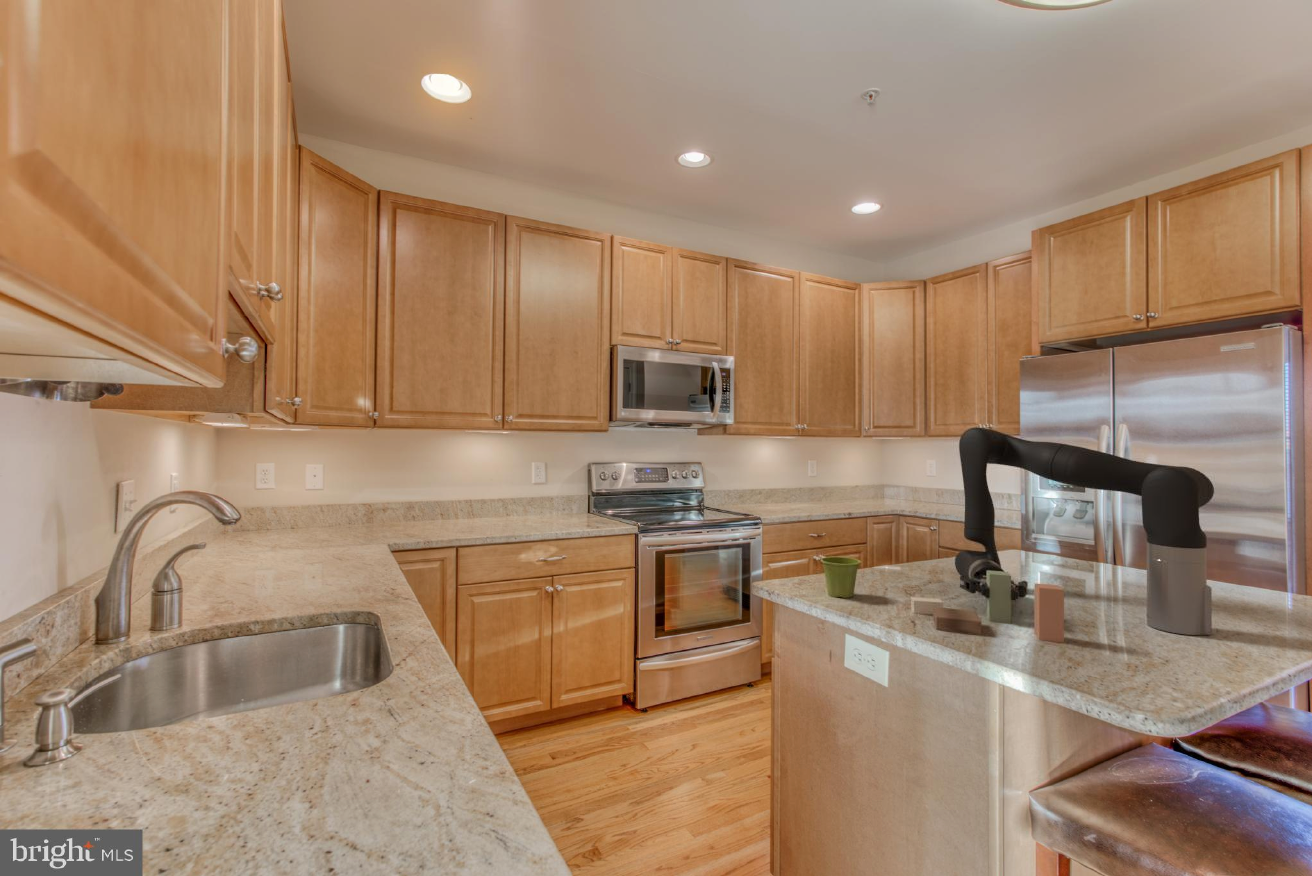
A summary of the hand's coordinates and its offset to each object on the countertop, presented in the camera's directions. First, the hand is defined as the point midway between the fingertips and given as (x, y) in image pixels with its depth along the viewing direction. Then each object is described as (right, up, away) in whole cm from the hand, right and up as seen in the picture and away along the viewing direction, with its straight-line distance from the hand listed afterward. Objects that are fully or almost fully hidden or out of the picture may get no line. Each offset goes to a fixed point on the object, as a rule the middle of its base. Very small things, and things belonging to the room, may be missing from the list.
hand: (1000, 594), depth 124 cm
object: (-27, -6, +22) cm, 35 cm away
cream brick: (-12, -6, +8) cm, 16 cm away
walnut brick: (-11, -6, -3) cm, 13 cm away
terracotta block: (+4, -6, -9) cm, 12 cm away
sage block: (+1, -6, +2) cm, 7 cm away
